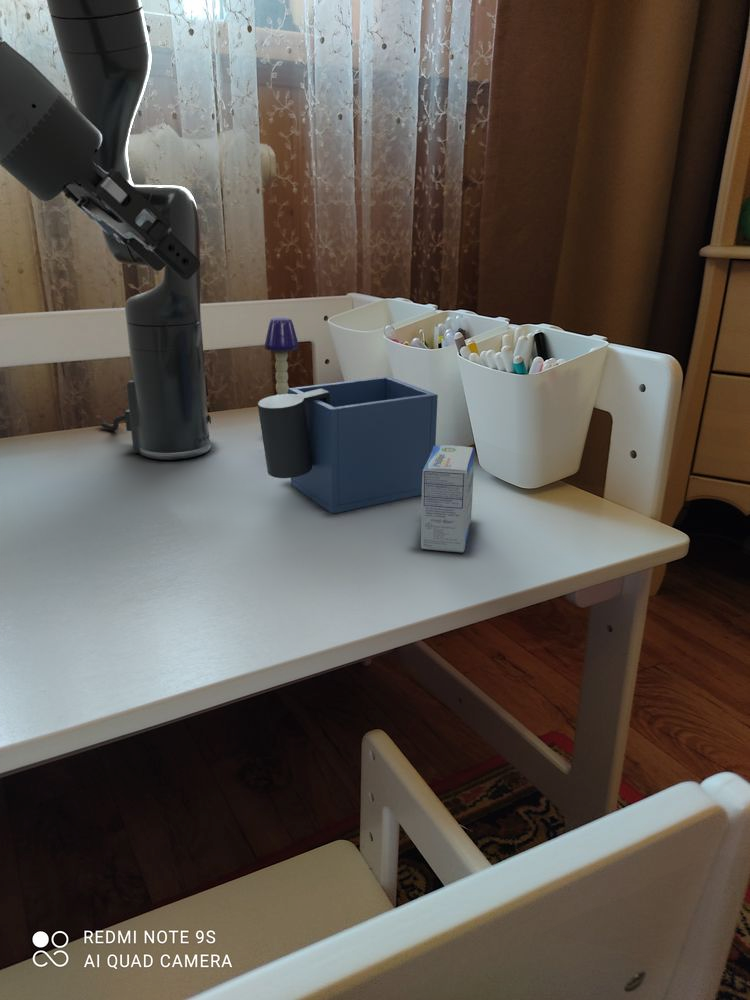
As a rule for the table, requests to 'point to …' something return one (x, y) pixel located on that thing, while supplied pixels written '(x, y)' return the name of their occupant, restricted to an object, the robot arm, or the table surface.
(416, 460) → the box
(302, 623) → the table surface
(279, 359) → the toy lamp
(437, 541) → the medicine box
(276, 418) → the mug
